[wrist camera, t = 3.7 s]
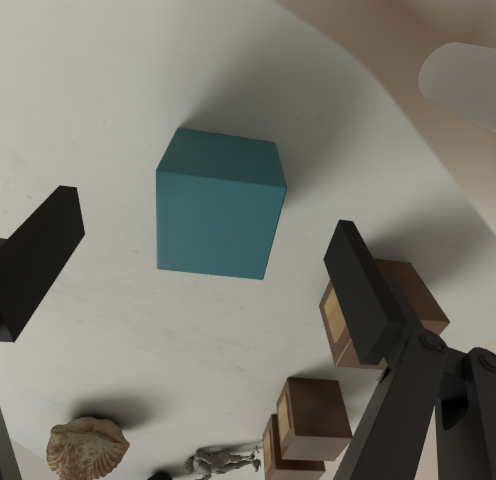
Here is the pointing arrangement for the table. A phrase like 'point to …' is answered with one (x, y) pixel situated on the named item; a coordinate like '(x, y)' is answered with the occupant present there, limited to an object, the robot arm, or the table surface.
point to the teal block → (217, 204)
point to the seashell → (85, 448)
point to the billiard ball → (160, 477)
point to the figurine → (217, 463)
